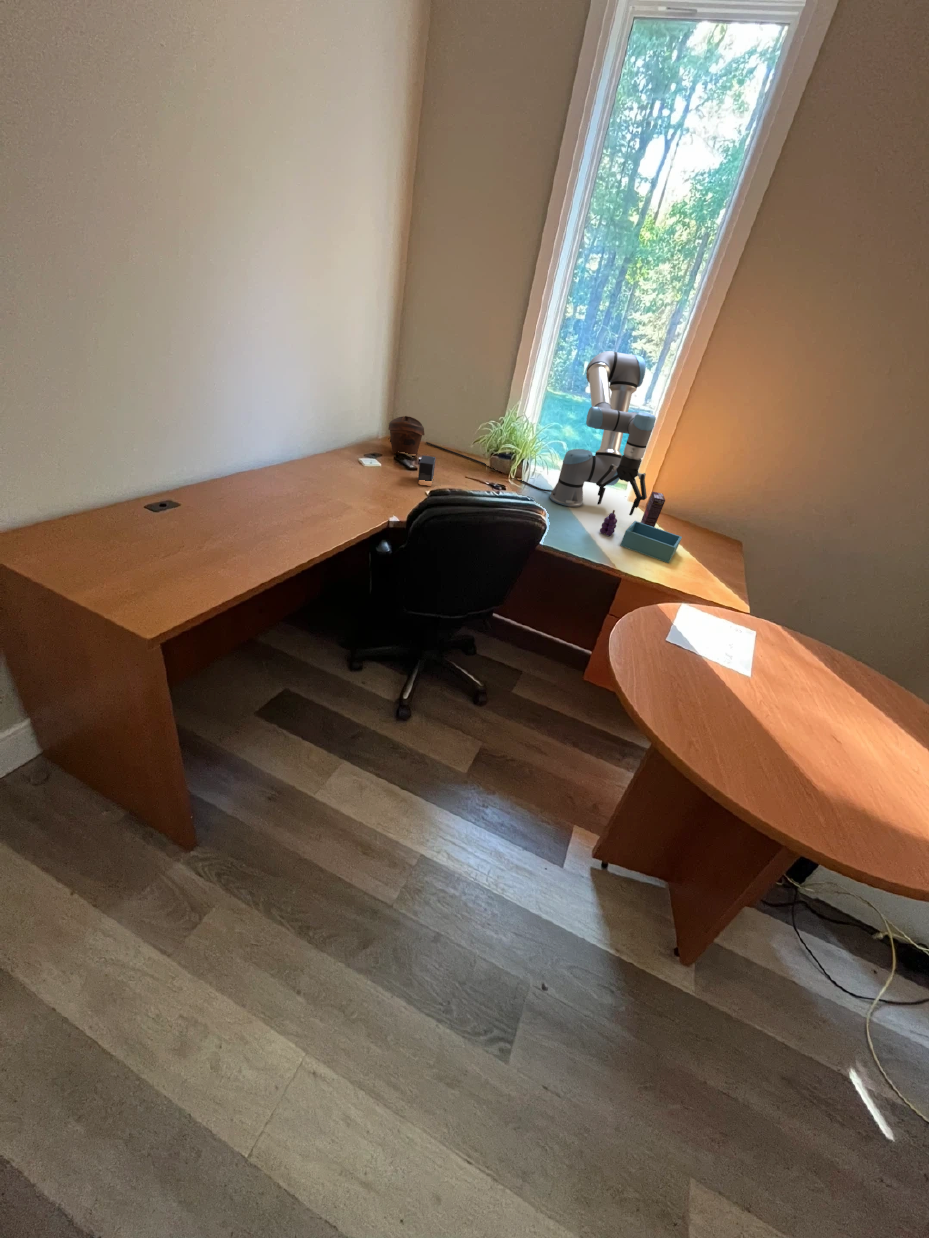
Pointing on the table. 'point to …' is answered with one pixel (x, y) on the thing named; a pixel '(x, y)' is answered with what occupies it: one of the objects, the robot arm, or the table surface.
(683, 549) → the table surface
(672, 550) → the bin
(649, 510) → the supplement box
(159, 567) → the table surface
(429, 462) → the small box
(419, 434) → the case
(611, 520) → the grapes
